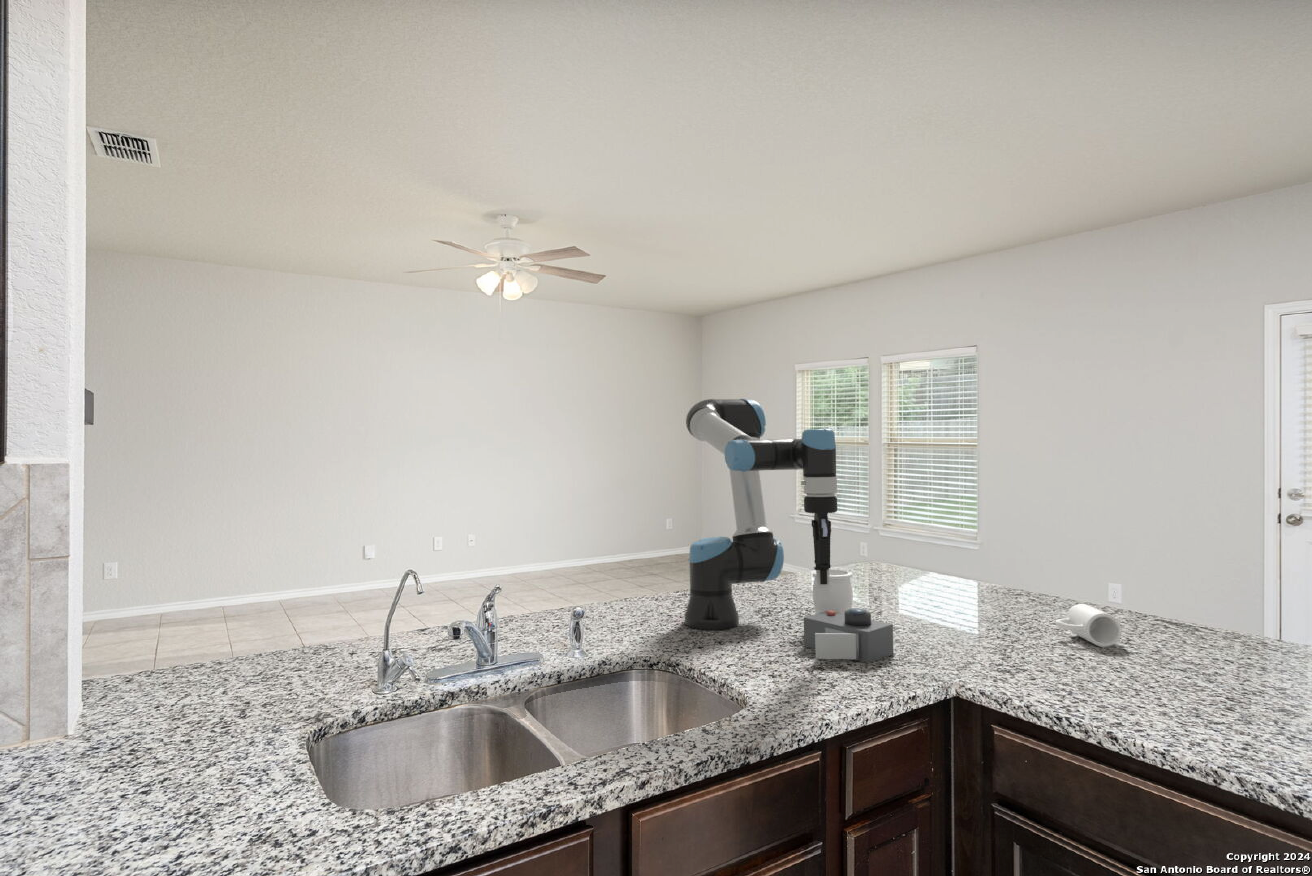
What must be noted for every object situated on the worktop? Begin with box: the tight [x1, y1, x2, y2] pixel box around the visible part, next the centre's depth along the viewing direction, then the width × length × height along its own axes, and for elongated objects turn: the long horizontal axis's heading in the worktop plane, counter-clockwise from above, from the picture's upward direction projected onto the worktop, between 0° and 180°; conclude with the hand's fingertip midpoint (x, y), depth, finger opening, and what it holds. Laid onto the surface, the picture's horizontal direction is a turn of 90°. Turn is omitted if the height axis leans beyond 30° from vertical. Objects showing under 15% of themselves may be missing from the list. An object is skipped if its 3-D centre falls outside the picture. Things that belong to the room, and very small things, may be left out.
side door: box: [814, 633, 859, 660], centre depth 152 cm, size 10×1×6 cm, turn 84°
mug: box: [1055, 603, 1123, 648], centre depth 164 cm, size 12×10×8 cm
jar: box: [811, 568, 854, 614], centre depth 179 cm, size 11×10×15 cm
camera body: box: [803, 607, 894, 664], centre depth 160 cm, size 18×10×10 cm, turn 39°
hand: (823, 597), depth 155 cm, fingers closed
